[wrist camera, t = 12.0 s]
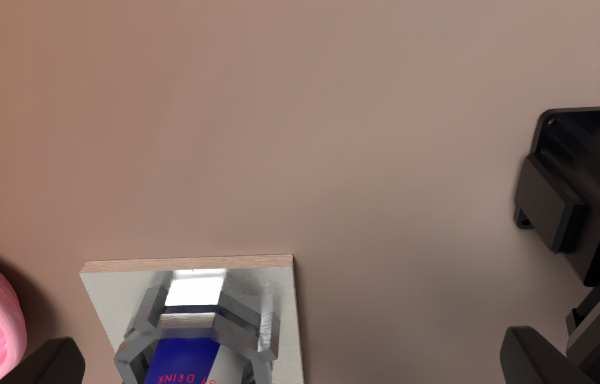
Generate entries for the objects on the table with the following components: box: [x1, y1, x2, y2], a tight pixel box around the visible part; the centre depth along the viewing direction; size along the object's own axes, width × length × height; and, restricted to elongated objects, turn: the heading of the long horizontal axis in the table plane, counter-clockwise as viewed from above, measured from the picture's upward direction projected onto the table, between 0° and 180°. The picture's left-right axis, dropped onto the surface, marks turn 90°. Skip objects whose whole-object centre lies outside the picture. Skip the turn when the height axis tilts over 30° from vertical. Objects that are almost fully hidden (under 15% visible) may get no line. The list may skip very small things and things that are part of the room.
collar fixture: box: [79, 255, 304, 384], centre depth 27 cm, size 12×12×4 cm
